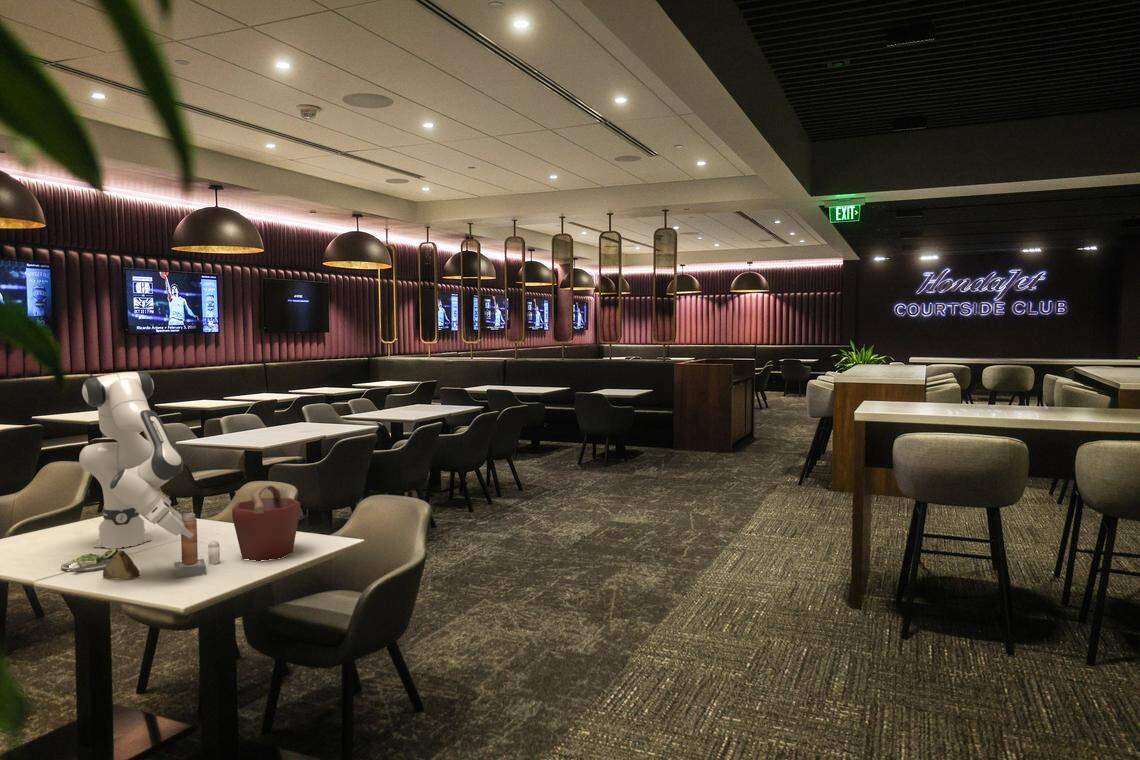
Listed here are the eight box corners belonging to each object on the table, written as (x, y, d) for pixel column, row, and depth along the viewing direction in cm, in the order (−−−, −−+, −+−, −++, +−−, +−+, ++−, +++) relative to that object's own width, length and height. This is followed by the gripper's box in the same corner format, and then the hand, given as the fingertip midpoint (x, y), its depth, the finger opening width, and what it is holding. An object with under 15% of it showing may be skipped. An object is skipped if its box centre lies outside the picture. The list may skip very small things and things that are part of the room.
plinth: (174, 571, 259) (174, 562, 259) (203, 567, 264) (203, 558, 263) (175, 578, 251) (175, 569, 251) (206, 574, 256) (205, 565, 256)
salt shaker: (208, 562, 269) (207, 540, 269) (219, 561, 271) (218, 539, 270) (209, 565, 266) (208, 543, 265) (220, 563, 268) (219, 541, 267)
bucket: (273, 566, 264) (271, 494, 263) (216, 562, 269) (214, 492, 267) (311, 547, 288) (309, 481, 287) (258, 544, 293) (256, 479, 291)
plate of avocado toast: (96, 576, 255) (96, 562, 255) (46, 574, 256) (45, 561, 256) (134, 559, 274) (134, 546, 274) (87, 558, 276) (87, 545, 275)
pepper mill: (181, 561, 258) (180, 513, 257) (197, 559, 261) (196, 512, 260) (182, 564, 254) (180, 516, 253) (198, 562, 256) (197, 515, 255)
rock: (91, 573, 250) (106, 574, 244) (106, 548, 254) (121, 548, 249) (121, 585, 257) (136, 587, 251) (135, 561, 261) (150, 562, 256)
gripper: (148, 509, 260) (182, 534, 265) (150, 522, 242) (185, 549, 247) (163, 495, 262) (196, 520, 267) (165, 507, 244) (200, 533, 249)
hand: (191, 534), depth 257 cm, fingers closed on pepper mill, 5 cm apart
